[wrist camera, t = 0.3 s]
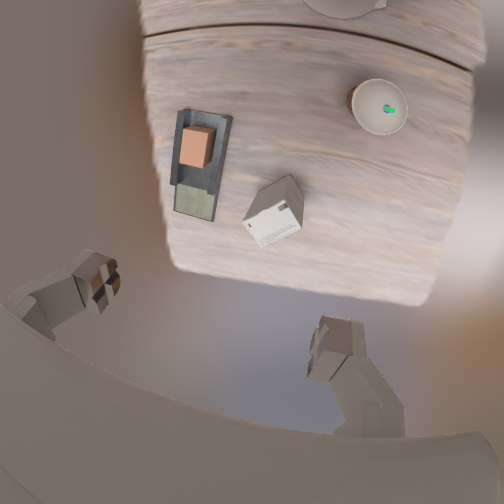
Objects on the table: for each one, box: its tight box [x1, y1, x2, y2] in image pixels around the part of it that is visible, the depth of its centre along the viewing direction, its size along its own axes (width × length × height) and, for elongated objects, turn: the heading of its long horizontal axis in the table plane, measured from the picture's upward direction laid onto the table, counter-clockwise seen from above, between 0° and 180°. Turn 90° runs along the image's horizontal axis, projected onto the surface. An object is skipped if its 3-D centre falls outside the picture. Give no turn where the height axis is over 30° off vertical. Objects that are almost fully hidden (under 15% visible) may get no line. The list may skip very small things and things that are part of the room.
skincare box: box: [242, 175, 304, 248], centre depth 50 cm, size 8×6×15 cm
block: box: [179, 125, 216, 168], centre depth 50 cm, size 7×5×4 cm
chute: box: [170, 109, 233, 222], centre depth 55 cm, size 24×10×4 cm, turn 168°
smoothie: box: [347, 78, 408, 135], centre depth 34 cm, size 8×8×20 cm
